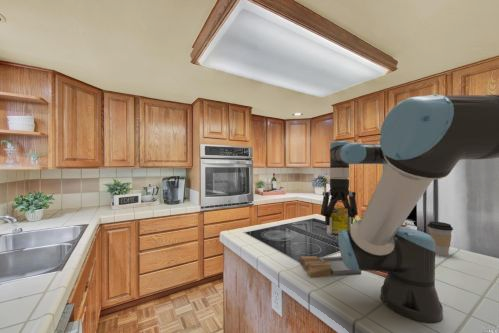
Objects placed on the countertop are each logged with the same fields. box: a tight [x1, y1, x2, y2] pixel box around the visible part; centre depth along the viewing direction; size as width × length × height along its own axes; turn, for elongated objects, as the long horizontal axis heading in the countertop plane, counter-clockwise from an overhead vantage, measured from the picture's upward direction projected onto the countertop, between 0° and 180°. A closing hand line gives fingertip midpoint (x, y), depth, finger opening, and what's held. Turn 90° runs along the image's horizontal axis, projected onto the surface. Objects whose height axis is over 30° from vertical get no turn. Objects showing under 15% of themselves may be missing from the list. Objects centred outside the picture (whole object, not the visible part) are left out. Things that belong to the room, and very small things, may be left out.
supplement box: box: [330, 206, 348, 237], centre depth 88 cm, size 6×6×11 cm
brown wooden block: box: [300, 255, 320, 272], centre depth 89 cm, size 8×7×3 cm
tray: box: [318, 255, 362, 277], centre depth 88 cm, size 12×12×2 cm
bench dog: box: [307, 261, 331, 278], centre depth 82 cm, size 3×8×4 cm, turn 99°
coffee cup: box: [427, 221, 454, 257], centre depth 103 cm, size 9×9×15 cm
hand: (338, 232), depth 88 cm, fingers closed on supplement box, 8 cm apart
